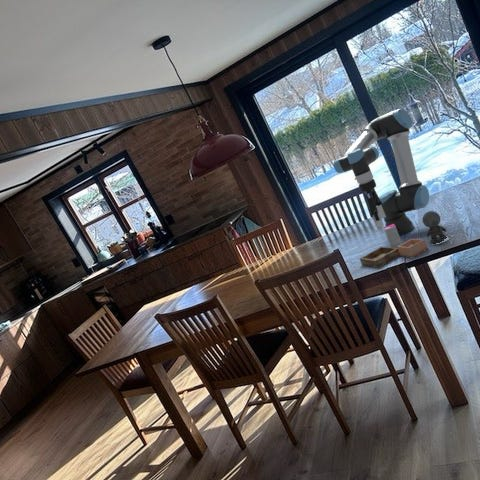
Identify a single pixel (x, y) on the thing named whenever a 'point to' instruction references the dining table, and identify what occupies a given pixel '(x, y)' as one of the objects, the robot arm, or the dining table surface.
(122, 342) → the dining table surface
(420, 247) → the tan square open box
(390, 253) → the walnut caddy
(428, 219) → the figurine
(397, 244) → the supplement box
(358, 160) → the robot arm
